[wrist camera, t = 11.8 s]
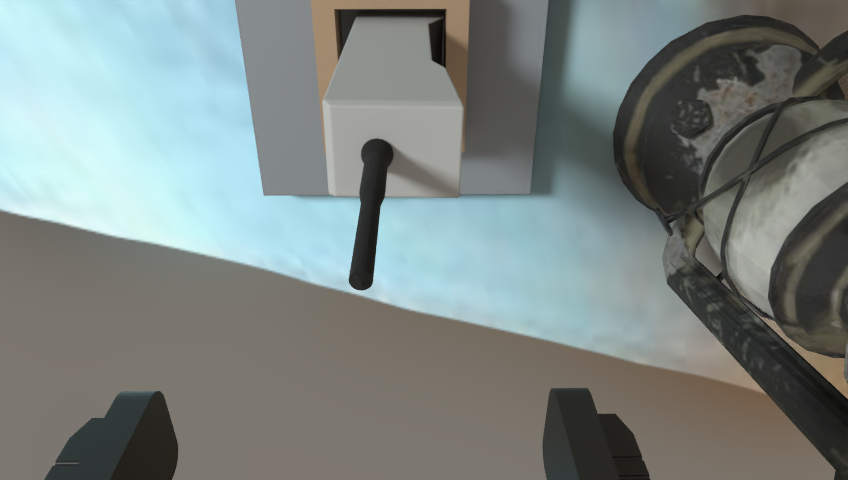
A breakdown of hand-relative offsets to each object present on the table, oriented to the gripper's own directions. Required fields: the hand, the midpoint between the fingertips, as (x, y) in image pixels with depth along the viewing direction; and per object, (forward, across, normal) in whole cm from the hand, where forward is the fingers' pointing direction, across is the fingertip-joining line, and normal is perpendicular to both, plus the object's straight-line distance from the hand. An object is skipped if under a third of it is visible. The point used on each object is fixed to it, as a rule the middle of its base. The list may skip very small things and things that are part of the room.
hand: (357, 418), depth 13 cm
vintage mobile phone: (+29, 0, -1) cm, 29 cm away
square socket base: (+30, 0, 0) cm, 30 cm away
